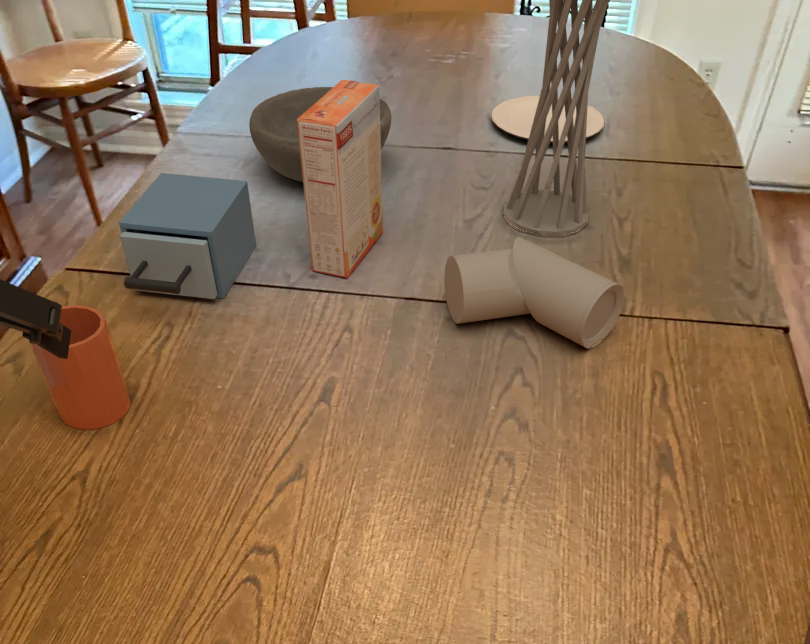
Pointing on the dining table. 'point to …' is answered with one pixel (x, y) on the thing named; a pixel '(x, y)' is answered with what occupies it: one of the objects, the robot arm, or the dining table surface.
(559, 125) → the plate
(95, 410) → the clay cup
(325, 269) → the cracker box
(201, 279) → the drawer
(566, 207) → the vase
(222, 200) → the blue-grey drawer box
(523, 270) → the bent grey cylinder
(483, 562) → the dining table surface
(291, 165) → the bowl
